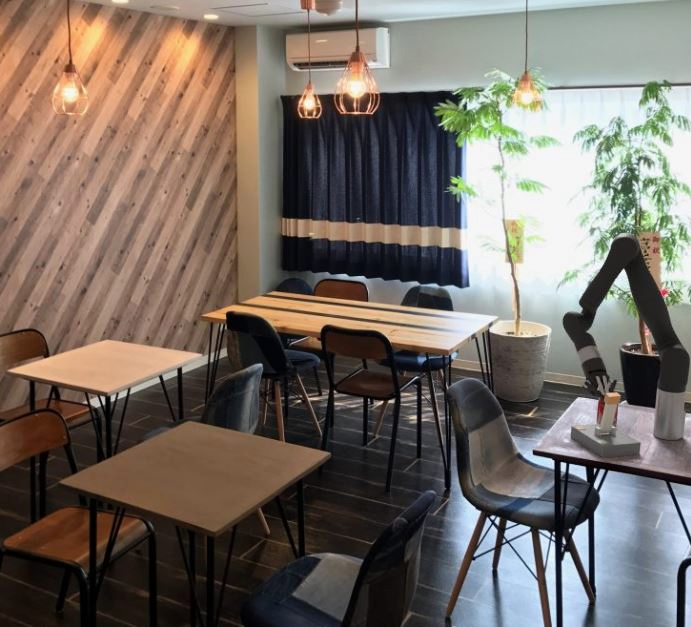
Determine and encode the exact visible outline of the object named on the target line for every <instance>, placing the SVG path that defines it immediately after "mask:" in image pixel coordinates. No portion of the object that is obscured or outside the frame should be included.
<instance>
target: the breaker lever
mask: <svg viewBox="0 0 691 627" xmlns="http://www.w3.org/2000/svg"><path fill="white" fill-rule="evenodd" d="M621 397H622V395H621V394H620V393H619V392H613V393H605V398H604V402H605V407H604V412H603V416H602V421H601V426H600V428H601V429H602V430H601V433H611V429H612V425H613V421H614V416H615V412H616V407H617V404H618V405H619V404H620V402H621Z"/></svg>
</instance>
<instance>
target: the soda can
mask: <svg viewBox="0 0 691 627" xmlns="http://www.w3.org/2000/svg"><path fill="white" fill-rule="evenodd" d="M597 400H598V401H597V409H596V424H601V421H602V416H603V412H604V406H603V405H602V403H601V400H600V398H599V397H598V399H597ZM618 414H619V404H617V407H616V412H615V416H614V421H613V425H612V426H614V427H616V428H617V422H618Z"/></svg>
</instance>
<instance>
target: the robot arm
mask: <svg viewBox="0 0 691 627" xmlns="http://www.w3.org/2000/svg"><path fill="white" fill-rule="evenodd" d="M622 271H625V275H626V277H627V280H628V286H629V289H630V294H631V296H632V299H633V302H634V304H635V306H636V309H637V312H638V314H639V315H640V318H641V319H642V321H643V323H644V325H645V326H646V327H647V329H648V330H649V332H650V334H651V336H652V338H653V341H654V344H655V346H656V349H657V353H658V357H659V358H658V359H659V361H660V366H659V367H660V370H659V376H658V377H659V378H658V380H657V387H656V388H657V389H656V398H655V409H654V421H653V431H652V435H653V437H656V438H658V439H661V440H666V441H678V440H680V439H682V438H684V437H685V436H684V435H685V434H684V433H685V427H686V426H685V424H686V416H687V412H686V411H685V398H686V390H687V385H688V380H689V376H690V375H689V372H690V365H691V356H690V354H689V353H688V351H687V349H686V348H685V346H684V345H683V344H682V342H681V340H680V338H679V337H678V335H677V333H676V331H675V329H674V327H673V325H672V321H671V317H670V313H669V310H668V306H667V303H666V301H665V299H664V297H663V294H662V292H661V290H660V288H659V287H658V284H657V282H656V280H655V279H654V276H653V275H652V273H651V271H650V270H649V268H648V266H647V263H646V261H645V257H644V254H643V250H642V247H641V244H640V241H639V239H638V238H637V237H636V236H635V235H634V234H632V233H629V232H622V233H619V234H617V235H615V237H614V238H613V240H612V242H611V245H610V249H609V250H608V253H607V256H606V258H605V260H604V262H603V264H602V266H601V267H600V269H599V271H598V273H597V274H596V275H595V276H594V277H593V279H592V280H591V282H589V284H588V286H587V287H586V289H585V290H584V292H583V294H582V295H581V296H580V298H579V300H578V305H579V307H581V309H582V310H581V312H577V311H570V310H569V311H567V312H565V313H564V315H563V317H562V327H563V328H564V331H565V333H566V335H567V336H568V337H569V338H570V340H571V341H572V343H573V345H574V347H575V348H574V349H575V350H576V354H577V357H578V361H579V363H580V367H581V369H582V372H583V375H584V377H585V381H584V382H583V384H581V387H582V388H583V389H584V390H585V391H587V393H589V394H590V395H591V396H593V397H594V398H596V397H597V398H598V399H599V398H600V400H601V403H602V405H603V406H604V407H605V402H604V398H605V393H614V392H615V388H616V387H617V383H618V380H617V379H612V378H610V375H609V374H608V372H607V367H606V365H605V362H604V359H603V356H602V355H601V352H600V350H599V348H598V346H597V344H596V340H595V338H594V336H593V335H592V334H591V333H589V332H588V331H589V330H590V329H591V328H592V326H593V324H594V321H595V317H596V316H597V312H598V308H600V306H601V305H602V303H603V301H604V300H605V298H606V297H607V295H608V293H609V292H610V290H611V288H612V286H613V285H614V282H615V281H616V279H617V278H618V276H619V275H620V274H621V272H622Z"/></svg>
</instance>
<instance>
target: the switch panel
mask: <svg viewBox="0 0 691 627" xmlns="http://www.w3.org/2000/svg"><path fill="white" fill-rule="evenodd" d="M600 426H601V424H597V423H593V424H581V425H571V427H570V438H571V439H573V440H575V441H576V442H578V443H579V444H580V445H582V446H584V447H585V448H587V449H588V450H590V451H591V452H593V453H594V454H596V455H598V456H599V457H601V458H602V457H603V458H613V457H620V456H621V457H622V456H623V457H624V456H632V455H633V456H634V455H640V454H641V445H642V444H641V442H640V441H639V440H637V439H635V438H633V437H631V436H630V435H628V434H626V433H625V432H623V431H622V430H619V429H618V428H617V426H616V427H614V426H612V429H611V433H601V430H602V429H601V428H600Z"/></svg>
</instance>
